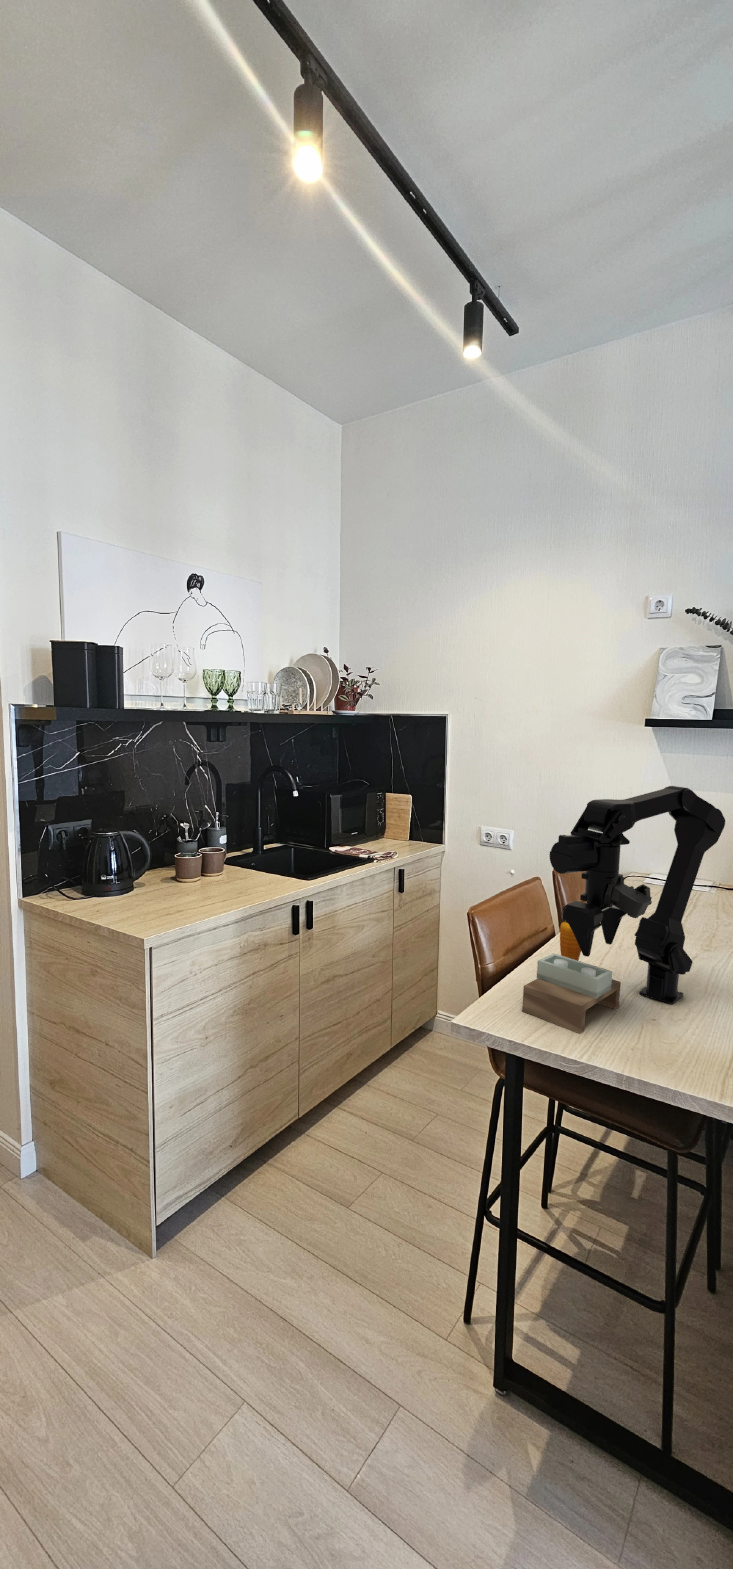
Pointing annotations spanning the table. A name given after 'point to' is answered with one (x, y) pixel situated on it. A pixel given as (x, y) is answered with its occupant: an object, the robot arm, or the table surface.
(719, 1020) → the table surface
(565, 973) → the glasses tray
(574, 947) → the carrot
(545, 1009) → the walnut shelf
